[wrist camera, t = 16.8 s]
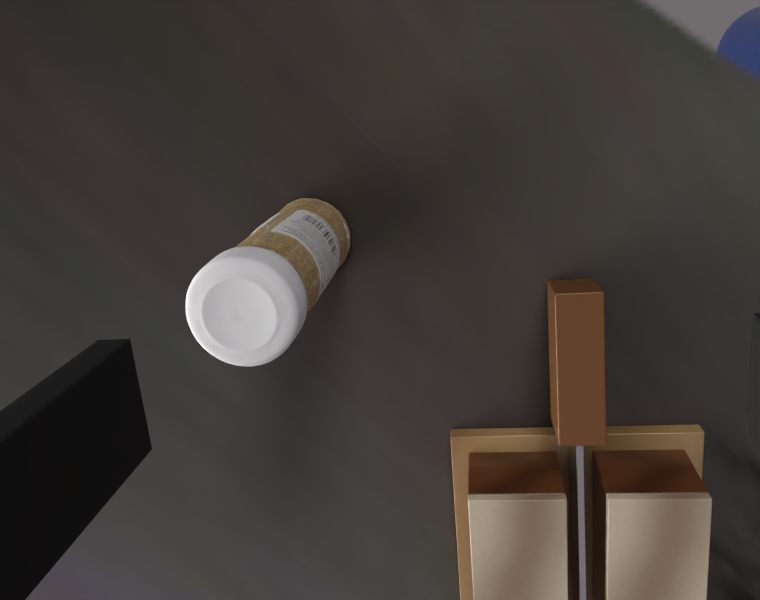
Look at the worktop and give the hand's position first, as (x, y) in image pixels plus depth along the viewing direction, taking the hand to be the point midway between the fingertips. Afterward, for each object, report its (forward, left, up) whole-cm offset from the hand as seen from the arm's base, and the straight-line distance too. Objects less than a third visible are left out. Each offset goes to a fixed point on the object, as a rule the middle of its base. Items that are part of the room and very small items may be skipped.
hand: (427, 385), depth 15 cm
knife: (-6, +16, -23) cm, 29 cm away
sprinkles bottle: (+8, +2, -25) cm, 26 cm away
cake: (-6, +21, -25) cm, 33 cm away
